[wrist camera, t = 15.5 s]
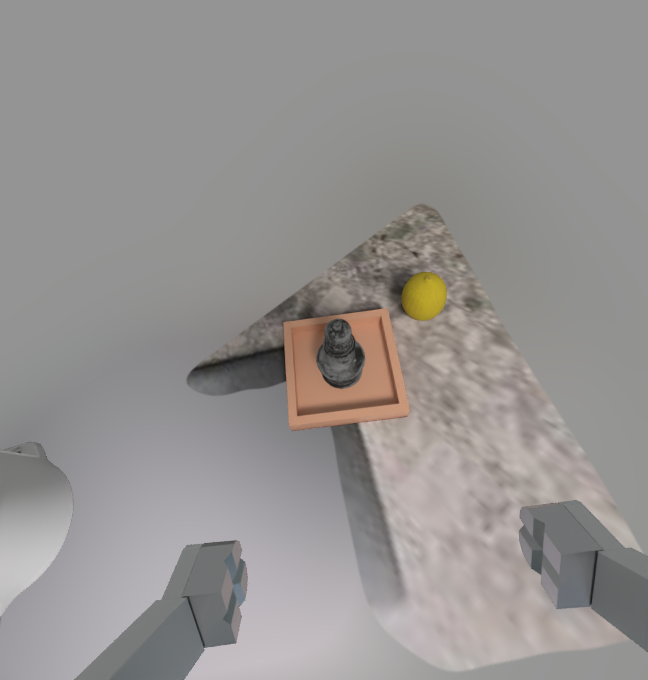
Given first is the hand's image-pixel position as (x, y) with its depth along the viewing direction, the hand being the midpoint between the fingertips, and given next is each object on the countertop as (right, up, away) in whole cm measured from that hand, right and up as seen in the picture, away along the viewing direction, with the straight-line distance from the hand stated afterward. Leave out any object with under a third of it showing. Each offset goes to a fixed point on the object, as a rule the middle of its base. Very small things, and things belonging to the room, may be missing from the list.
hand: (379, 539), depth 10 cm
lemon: (+12, +9, +39) cm, 42 cm away
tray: (+1, +2, +36) cm, 36 cm away
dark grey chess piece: (+1, +2, +36) cm, 36 cm away
